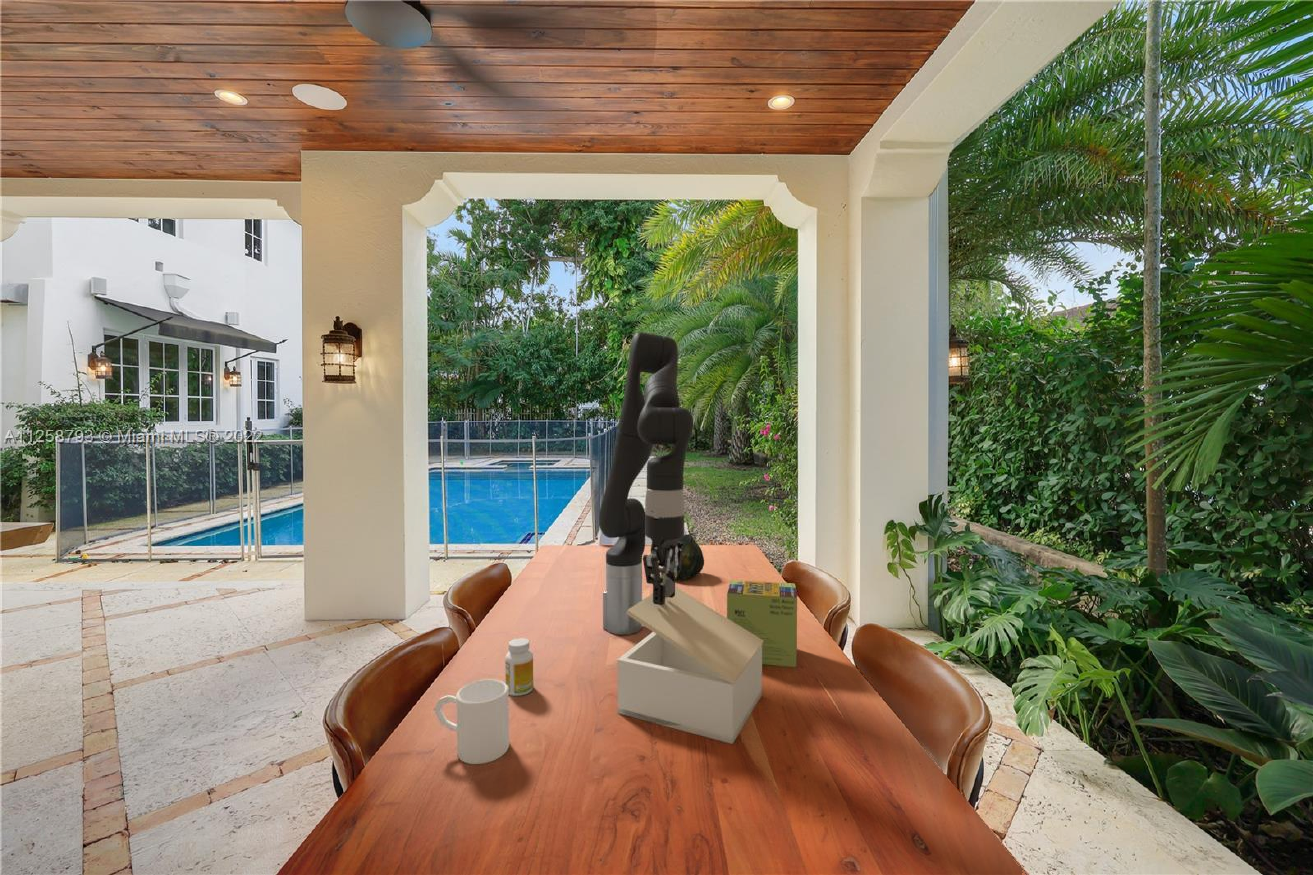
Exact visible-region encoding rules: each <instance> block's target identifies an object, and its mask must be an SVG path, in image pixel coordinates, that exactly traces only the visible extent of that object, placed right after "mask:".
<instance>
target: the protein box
mask: <svg viewBox="0 0 1313 875" xmlns="http://www.w3.org/2000/svg"><path fill="white" fill-rule="evenodd" d="M726 618H728V619H729V620H731V621H732V622H734V623H736V624H737V625H739V626H741V627H742V628H744V629H746V630H747V631H749V632H750V633H752V634H754V635H755V636H757V637H759V638H760V639H762V640H764V642H763V644H762V665H765V666H766V665H767V666H775V667H776V666H777V667H787V668H796V667H797V662H798V659H797V658H798V656H797V654H798V653H797V652H798V650H797V648H798V593H797V587H796V583H791V582H773V581H772V582H770V581H755V580H754V581H751V580H735V579H734V580H729V586H728V590H727V592H726Z"/></svg>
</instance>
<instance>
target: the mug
mask: <svg viewBox="0 0 1313 875" xmlns="http://www.w3.org/2000/svg"><path fill="white" fill-rule="evenodd" d="M509 696H510V695H509V690H508V685H507V684H506V682H505V681H502V680H499V679H495V678H494V679H492V678H489V679H488V678H487V679H479V680H475V681H472V682H469V683H467V684H465V685H464V686H462V687H461V688H460V689H459V690H458V691H457V692H456V696H455V695H451V694H447V695H445V696H442V697H439V700H438V701H437V703H436V705H435V707H434V709H433V711H434V713H435V715H436V718H437V719H438V721H439V724H440V725H441V726H442V727H445V728H447V729H448V730H450V731H454V732H456V738H457V739H456V746H457V748H456V750H457V752H456V753H457V754H456V755H457V757H458V758H459V760H460V761H461V762H463V763H466V764H469V765H483V764H487V763H488V764H489V763H491V762H493V761H496V760H497V759H499V758H501V757H502V756H504V755H505V754H506V753H507V752H508V749H509V747H510V708H509V706H510V704H509V703H510V702H509V699H510V698H509ZM449 703H453V704H456V723H454V722H452V721H450V720H448V719H447V718H446V714H445V713H444V712H443V709H442V708H443V707H444V705H445V704H449Z"/></svg>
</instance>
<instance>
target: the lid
mask: <svg viewBox="0 0 1313 875" xmlns="http://www.w3.org/2000/svg"><path fill="white" fill-rule="evenodd" d="M673 592H674V583H673V581H672V580H671V579H670V578H669V577H666V579H665V603H664V604H663V605H658V604H654V603H653V593H651V594H650V595H648V596H646V597H645V598H644V599H642V601H640V602H639V603H637V604H636V605H634V606H633V607H631V608H630V609H628V610H627V612H626V614H627V615H629V616H630V617H632V618H633V619H635V620H636V621H638V622H639V623H641V624H642V626H644V627H646V628H647V629H649V630H650V631H651V632H654V633H656V634H657V635H659V636H660V637H662V638H663V639H665V640H666V641H668V642H669V643H671V644H672V645H674V646H675V647H677V648H678V649H680V650H682V651H683V652H685V653H686V654H688V655H689V656H691V657H692V658H694V659H695V660H697V661H698V662H700V663H701V664H703V665H704V666H706V667H707V668H709V669H710V670H712V671H713V672H715V673H716V674H718V675H719V676H721V677H722V678H724V679H725V680H727V681H728V682H730V683H731V684H734V682H735V681H736V680H737V678H738V677H739V675H740V674H741V673H742V671H743V670H744V669H745V667H746V666H747V664H748V663H749V662H750V660H751V659H752V658H753V656H754V655H755V653H756V652H757V651H758V649H759V648H760V647H761V645H762V644H763V642H764V640H762V639H760V638H759V637H757V636H755V635H754V634H752V633H750V632H749V631H747V630H746V629H744V628H742V627H741V626H739V625H737V624H736V623H734V622H732V621H731V620H729V619H728V618H727V616H724V615H723V614H721V613H719V612H717V611H716V610H714V609H713V608H711V607H710V606H708V605H706V604H705V603H703V602H701V601H700V600H698V599H696V598H695V597H693V596H692V595H691V594H689V593H687V592H685V591H683V590H682V589H680V588H679V587H676V586H675V596H674V597H673V598H670V597H669V596H671V595H672V593H673Z"/></svg>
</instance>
